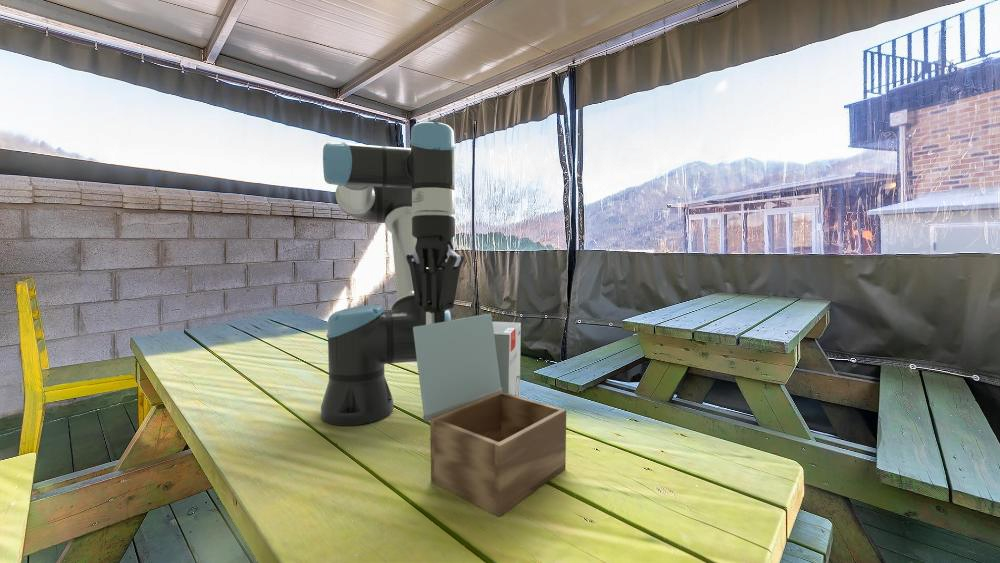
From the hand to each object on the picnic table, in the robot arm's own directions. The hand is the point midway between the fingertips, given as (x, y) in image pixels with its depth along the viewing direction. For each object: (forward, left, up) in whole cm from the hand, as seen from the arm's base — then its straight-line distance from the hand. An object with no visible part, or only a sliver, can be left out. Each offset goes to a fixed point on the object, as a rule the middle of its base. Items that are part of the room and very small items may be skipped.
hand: (434, 347), depth 78 cm
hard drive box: (0, +17, -19) cm, 25 cm away
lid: (+7, 0, -2) cm, 7 cm away
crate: (+15, 0, -19) cm, 24 cm away
